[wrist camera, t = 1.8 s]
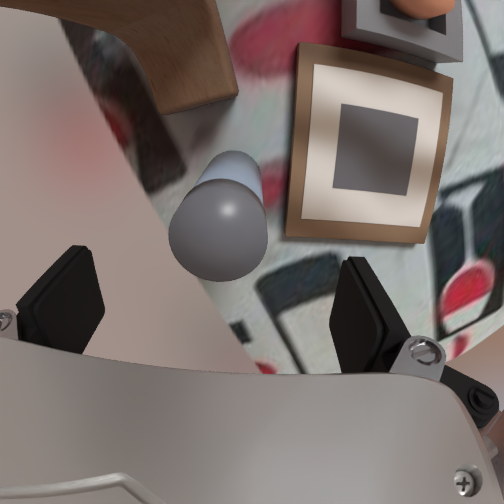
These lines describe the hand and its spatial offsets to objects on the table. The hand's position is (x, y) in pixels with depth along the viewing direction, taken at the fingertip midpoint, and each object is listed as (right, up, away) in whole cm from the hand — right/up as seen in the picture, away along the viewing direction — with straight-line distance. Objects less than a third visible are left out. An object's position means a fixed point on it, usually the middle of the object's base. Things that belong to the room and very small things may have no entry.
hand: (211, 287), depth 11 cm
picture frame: (+10, +9, +9) cm, 16 cm away
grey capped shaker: (0, +7, +11) cm, 13 cm away
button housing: (+12, +19, +4) cm, 23 cm away
